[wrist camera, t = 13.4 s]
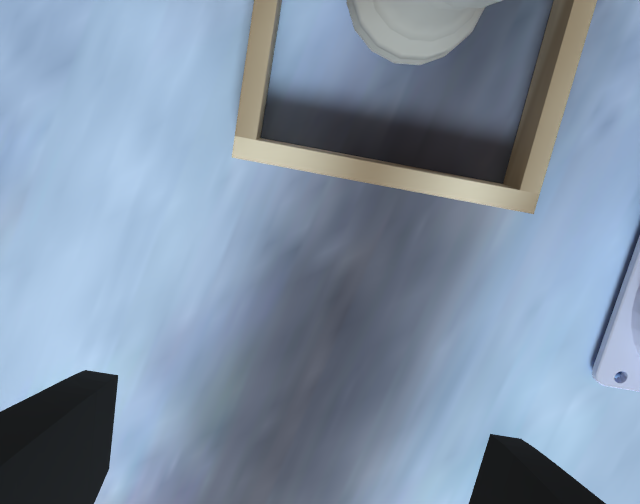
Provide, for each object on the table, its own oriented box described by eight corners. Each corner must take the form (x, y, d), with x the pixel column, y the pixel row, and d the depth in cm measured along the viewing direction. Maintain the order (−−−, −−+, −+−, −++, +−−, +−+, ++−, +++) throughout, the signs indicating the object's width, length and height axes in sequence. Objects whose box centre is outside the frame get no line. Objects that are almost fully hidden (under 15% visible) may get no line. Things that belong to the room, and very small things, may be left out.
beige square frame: (606, -109, 17) (635, -131, 15) (515, 206, 19) (533, 214, 18) (287, -182, 16) (285, -214, 15) (238, 153, 19) (231, 157, 17)
